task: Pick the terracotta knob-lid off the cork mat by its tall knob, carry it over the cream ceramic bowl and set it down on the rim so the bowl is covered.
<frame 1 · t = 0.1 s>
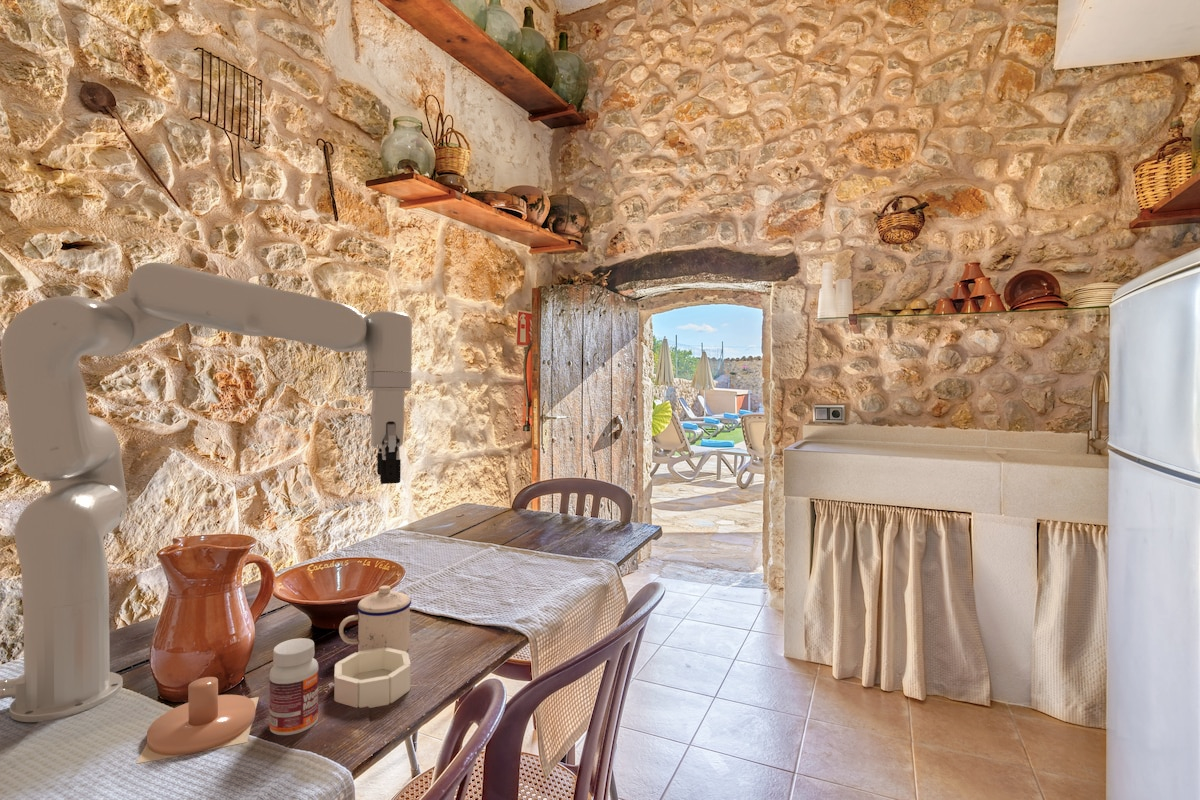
hand: (388, 478, 105), 31 cm above the table, fingers open, 9 cm apart
pill bottle: (294, 726, 84), on the table
bowl: (372, 689, 93), on the table
teacup with lid: (375, 653, 106), on the table
mat: (203, 729, 82), on the table
lid: (203, 727, 82), resting on mat
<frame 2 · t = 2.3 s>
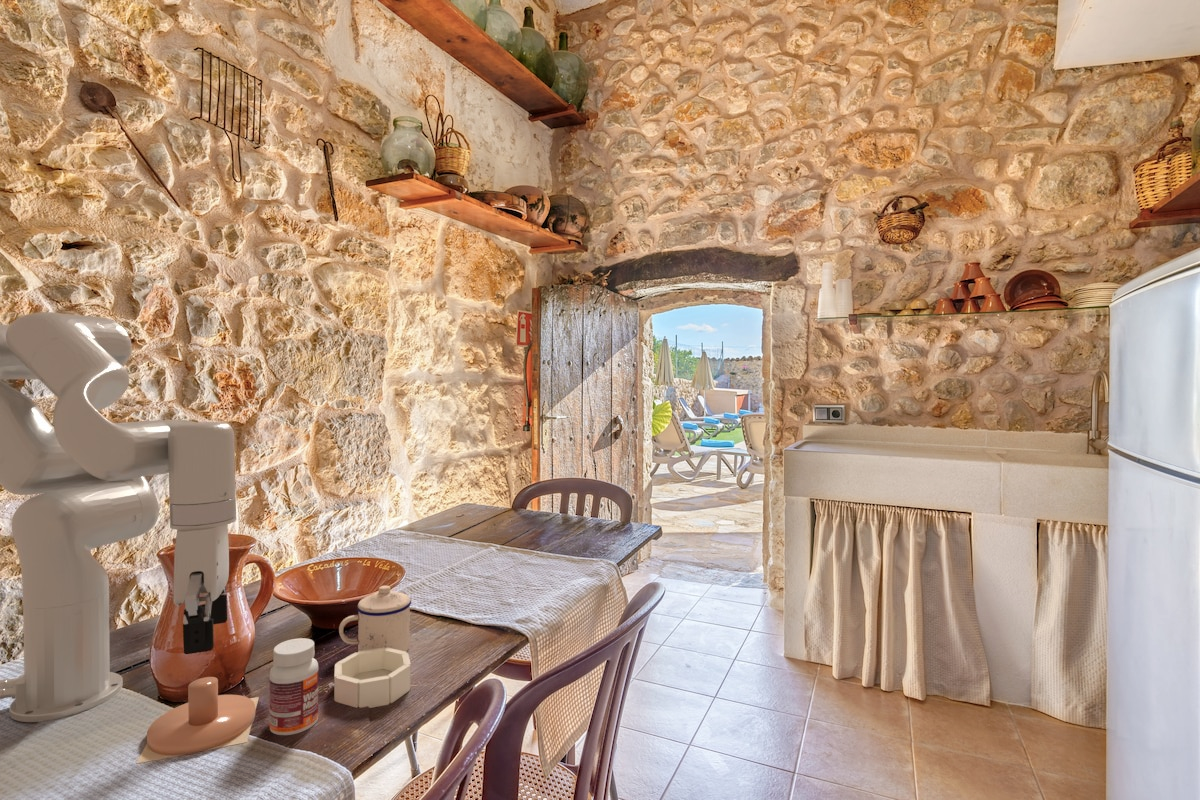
hand: (207, 636, 81), 13 cm above the table, fingers open, 9 cm apart
nothing on the table moved.
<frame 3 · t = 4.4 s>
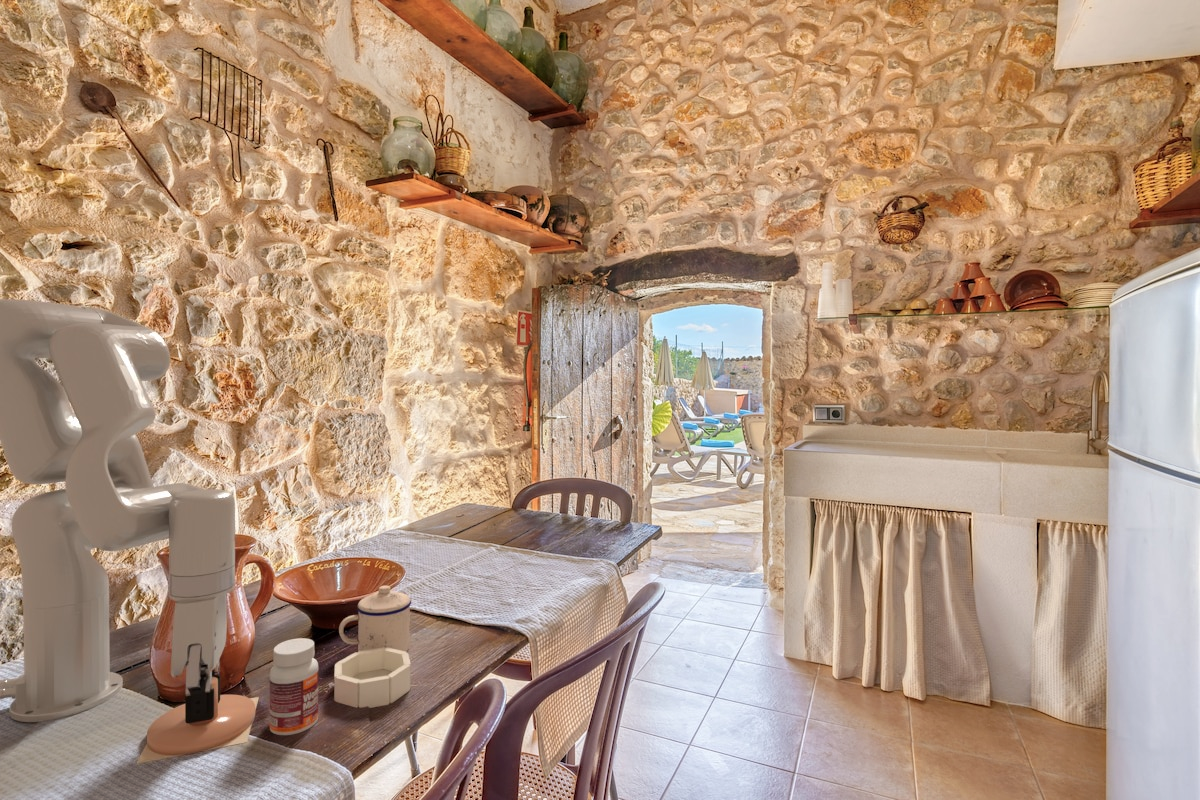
hand: (203, 711, 82), 3 cm above the table, fingers closed on lid, 3 cm apart
lid: (203, 726, 82), resting on mat, touching gripper
everything else where it was.
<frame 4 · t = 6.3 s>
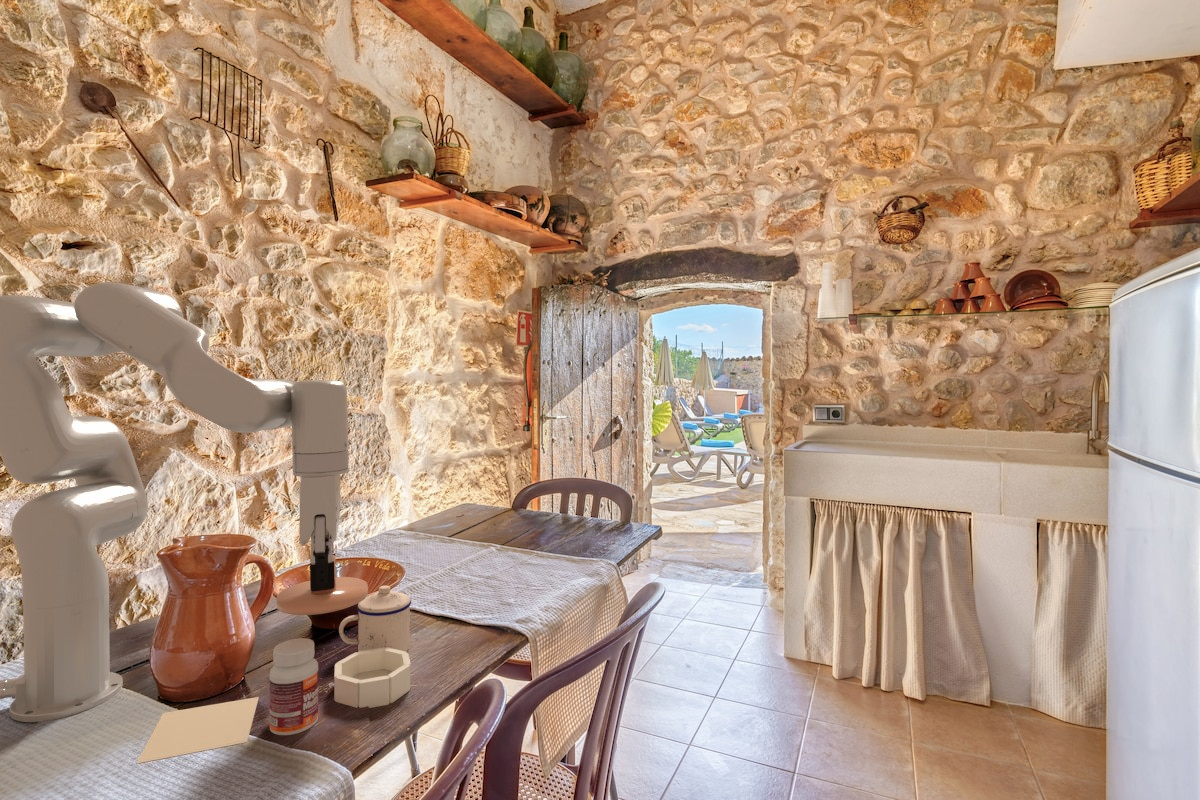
hand: (323, 584, 89), 18 cm above the table, fingers closed on lid, 3 cm apart
lid: (323, 598, 89), point 16 cm above the table, touching gripper
everything else where it was.
when the fingers open (7 cm above the table, at t = 8.6 s): lid stays where it is, resting on bowl.
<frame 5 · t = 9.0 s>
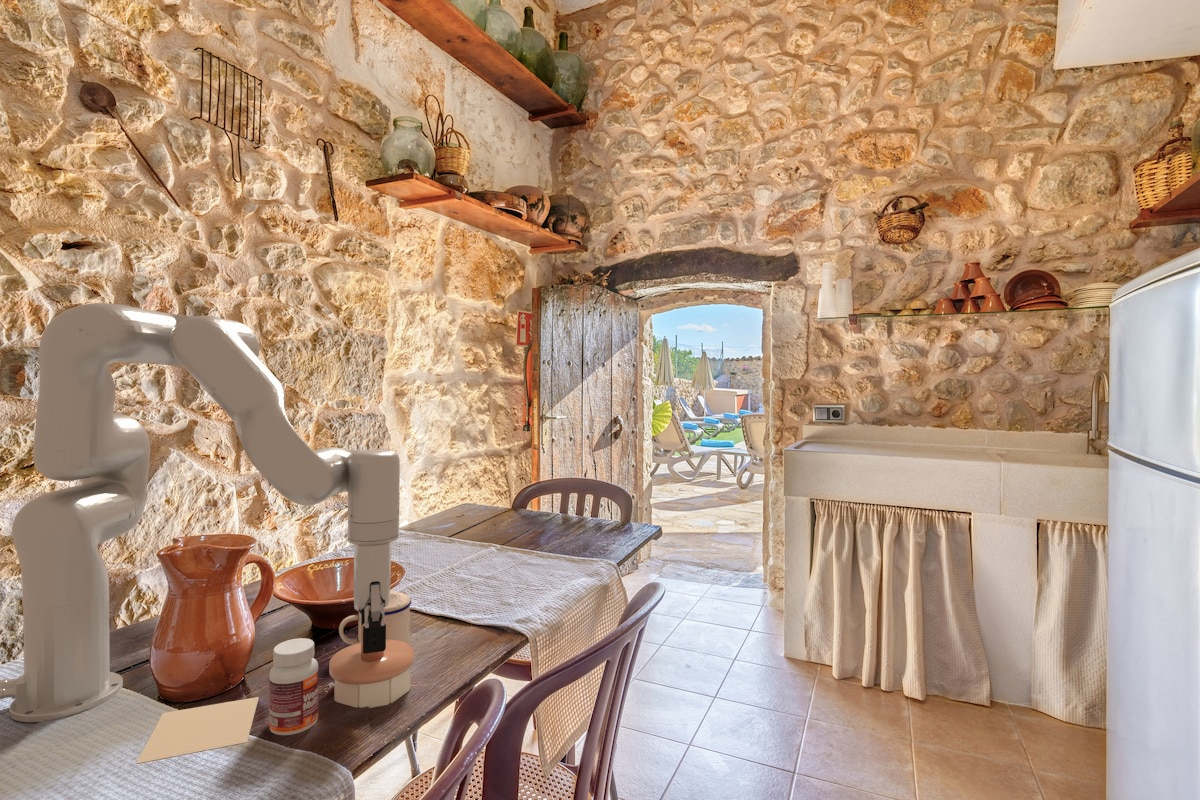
hand: (373, 639, 93), 8 cm above the table, fingers open, 8 cm apart
lid: (372, 664, 93), point 4 cm above the table, touching bowl
everything else where it was.
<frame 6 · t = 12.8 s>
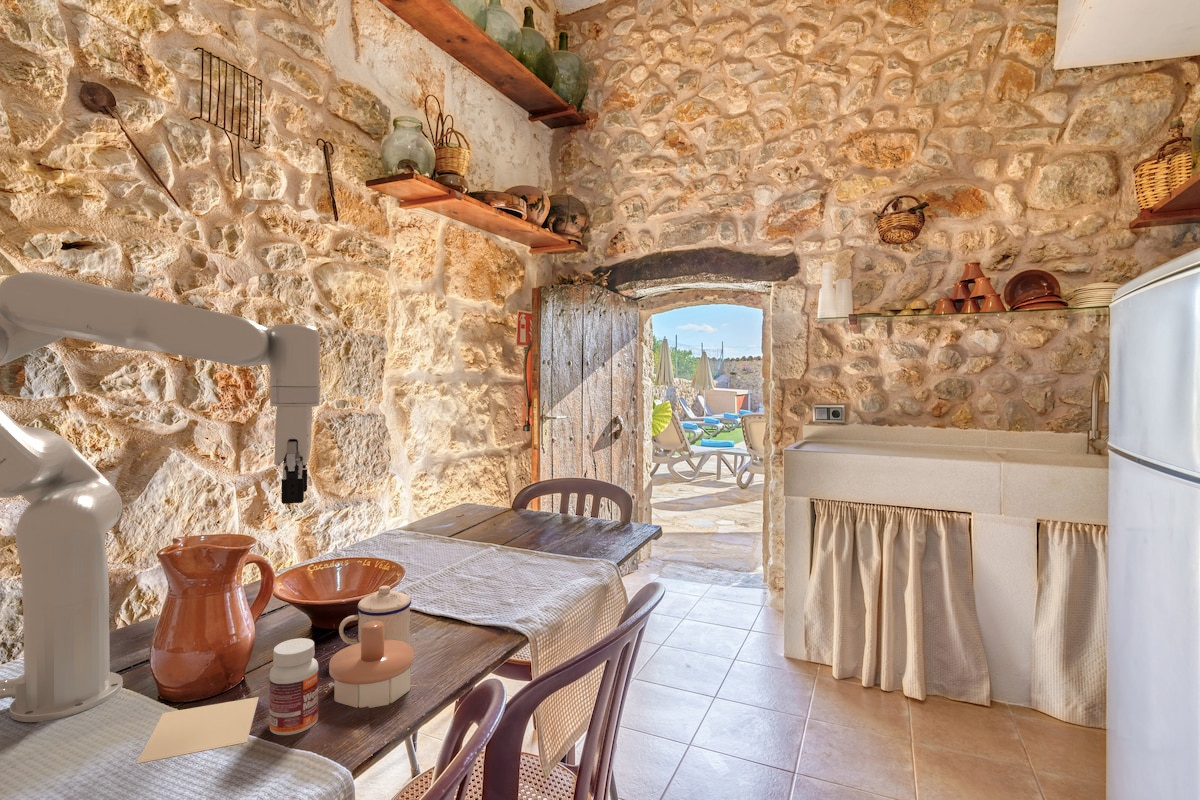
hand: (295, 497, 101), 28 cm above the table, fingers open, 9 cm apart
nothing on the table moved.
at the end: lid 0.1 cm off-centre on the bowl, point 4.0 cm above the bowl's base; lid tilted 0°; the gripper is holding nothing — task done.
